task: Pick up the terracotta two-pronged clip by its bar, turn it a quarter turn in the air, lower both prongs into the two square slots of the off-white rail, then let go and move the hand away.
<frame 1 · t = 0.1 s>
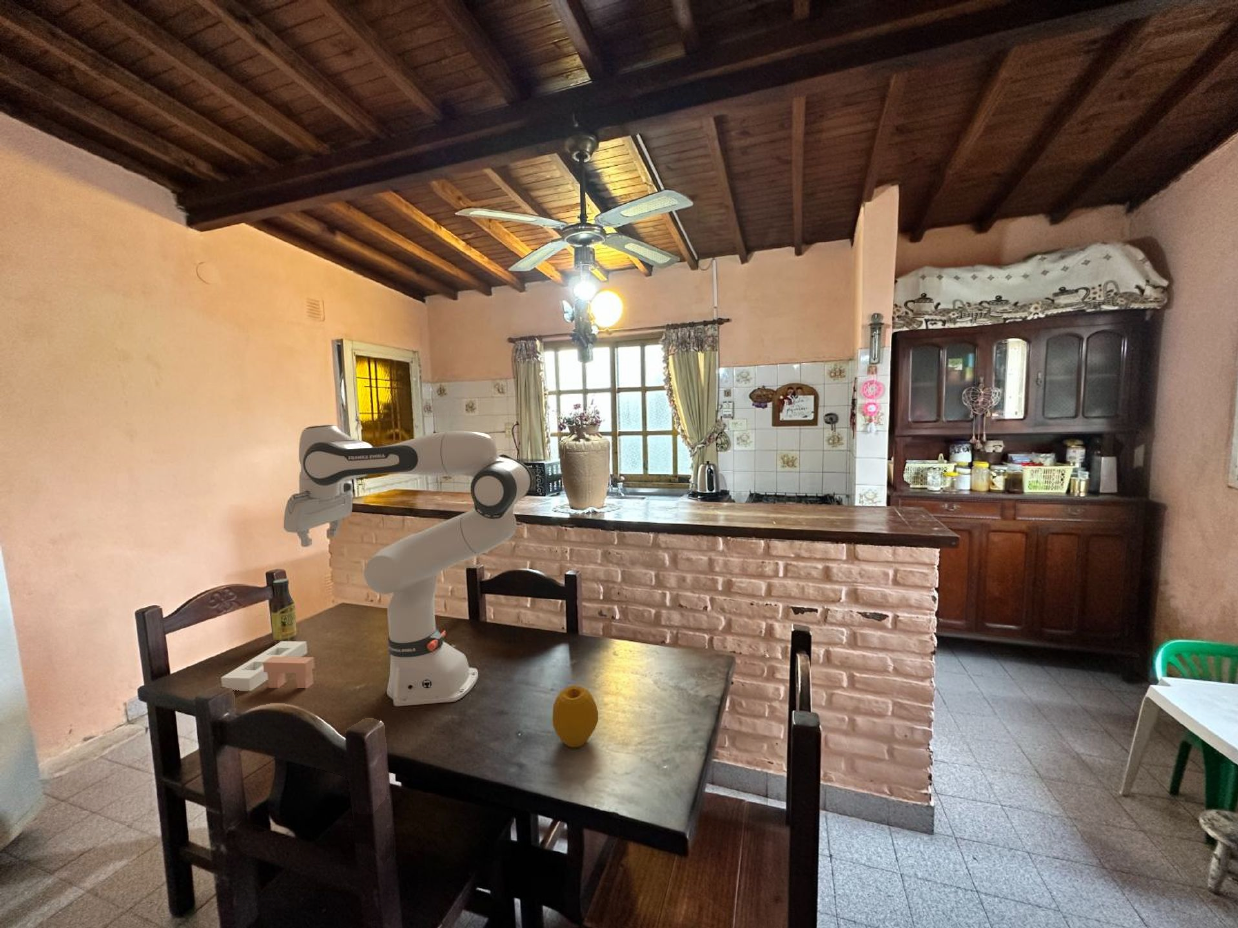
hand: (320, 540, 123), 39 cm above the table, tool pointing down, fingers open, 8 cm apart
prong clip: (291, 685, 127), on the table
slot rail: (268, 670, 135), on the table
sauce bottle: (286, 641, 153), on the table
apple: (576, 741, 102), on the table
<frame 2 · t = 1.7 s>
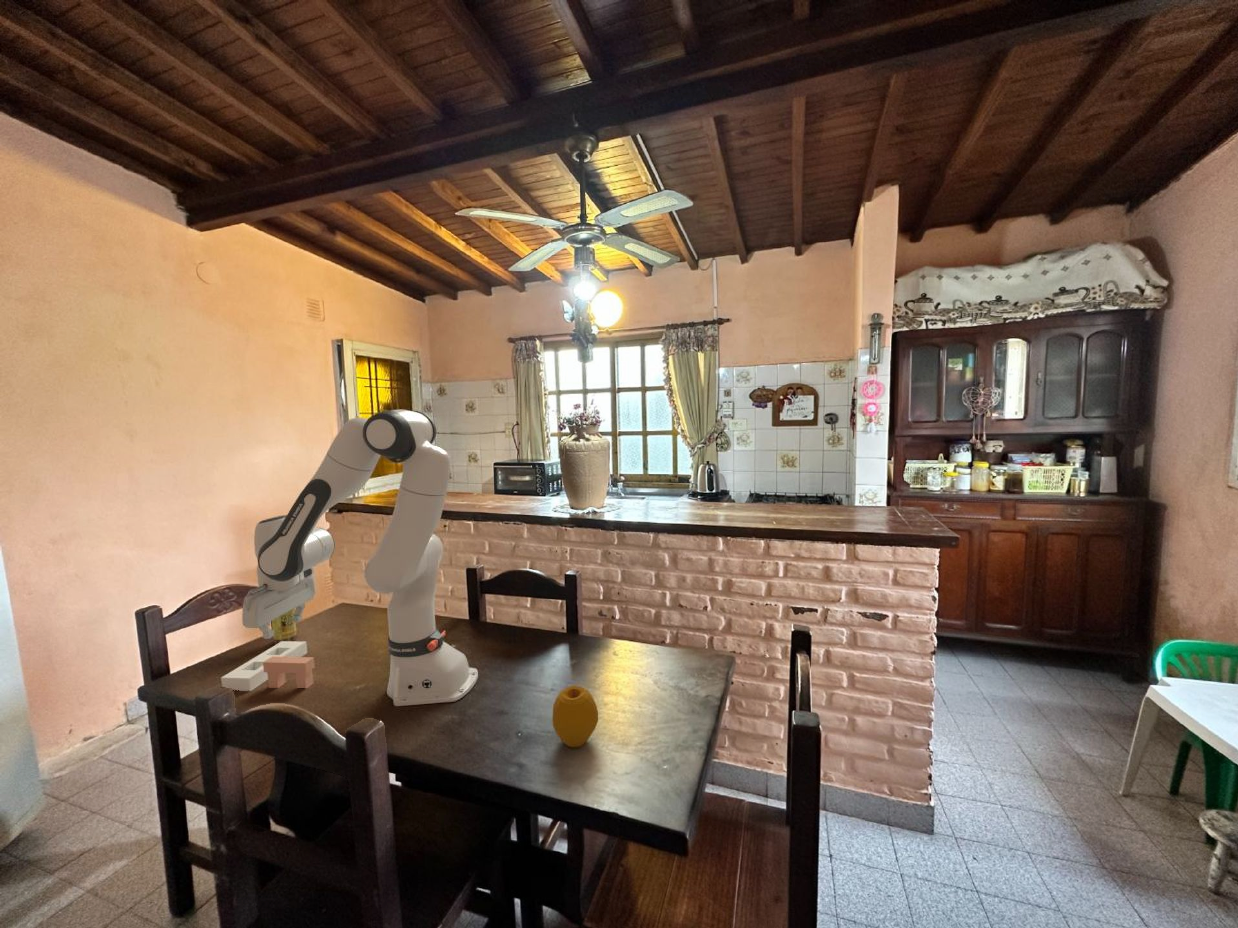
hand: (283, 629, 125), 16 cm above the table, tool pointing down, fingers open, 8 cm apart
nothing on the table moved.
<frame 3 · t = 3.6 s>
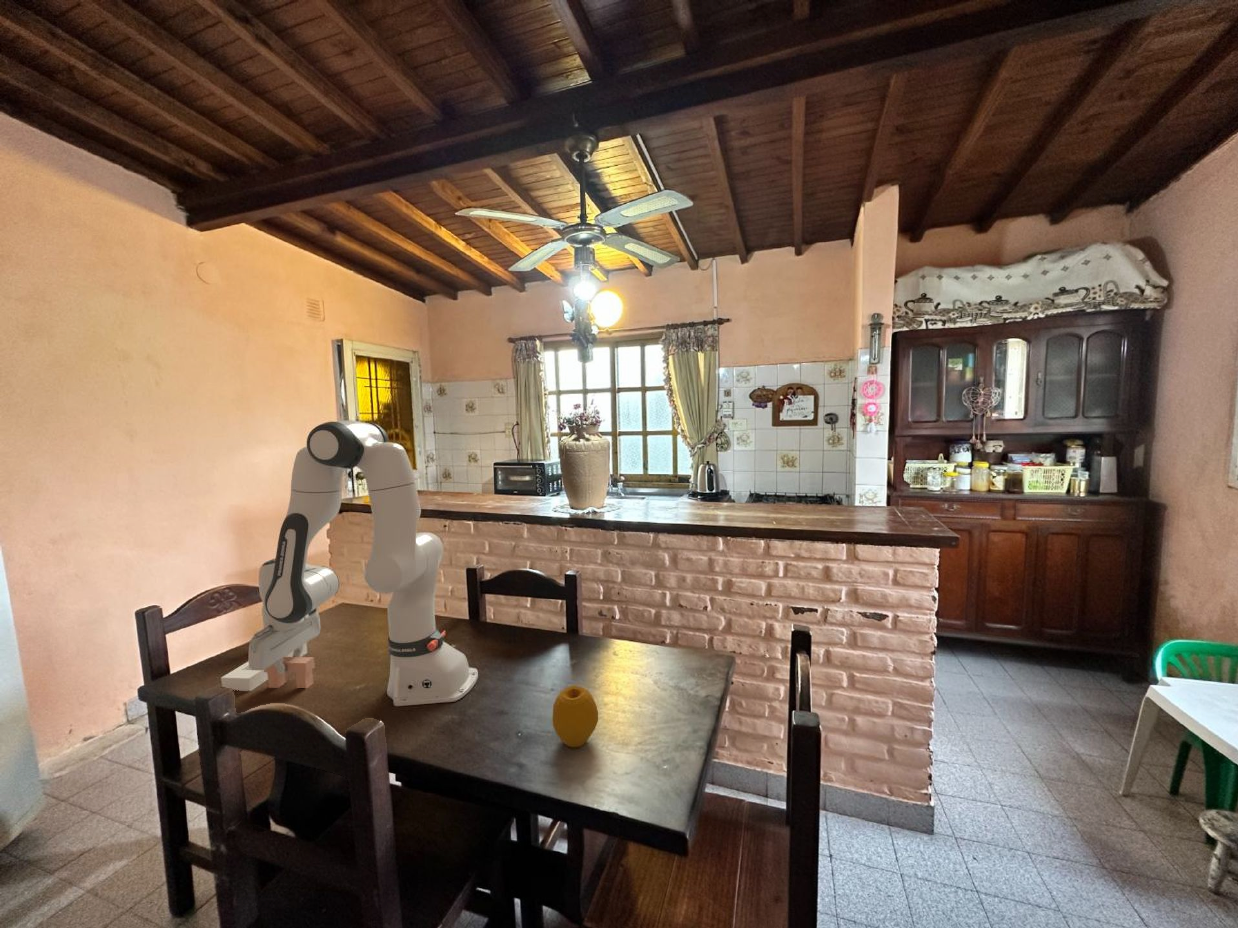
hand: (289, 667, 126), 5 cm above the table, tool pointing down, fingers closed on prong clip, 3 cm apart
prong clip: (291, 685, 127), on the table, touching gripper
everything else where it was.
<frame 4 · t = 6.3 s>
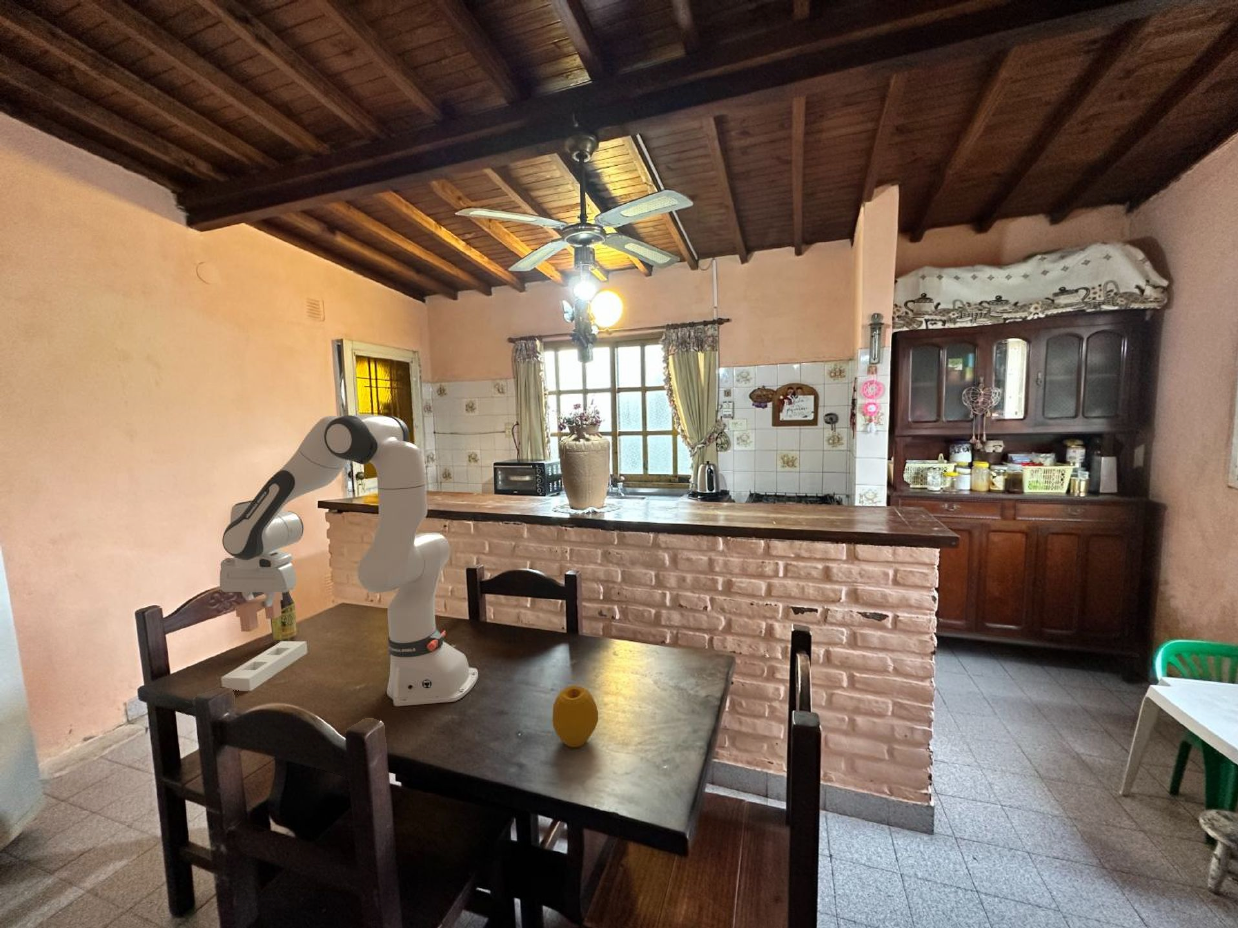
hand: (260, 606, 133), 19 cm above the table, tool pointing down, fingers closed on prong clip, 3 cm apart
prong clip: (262, 622, 133), point 14 cm above the table, touching gripper
everything else where it was.
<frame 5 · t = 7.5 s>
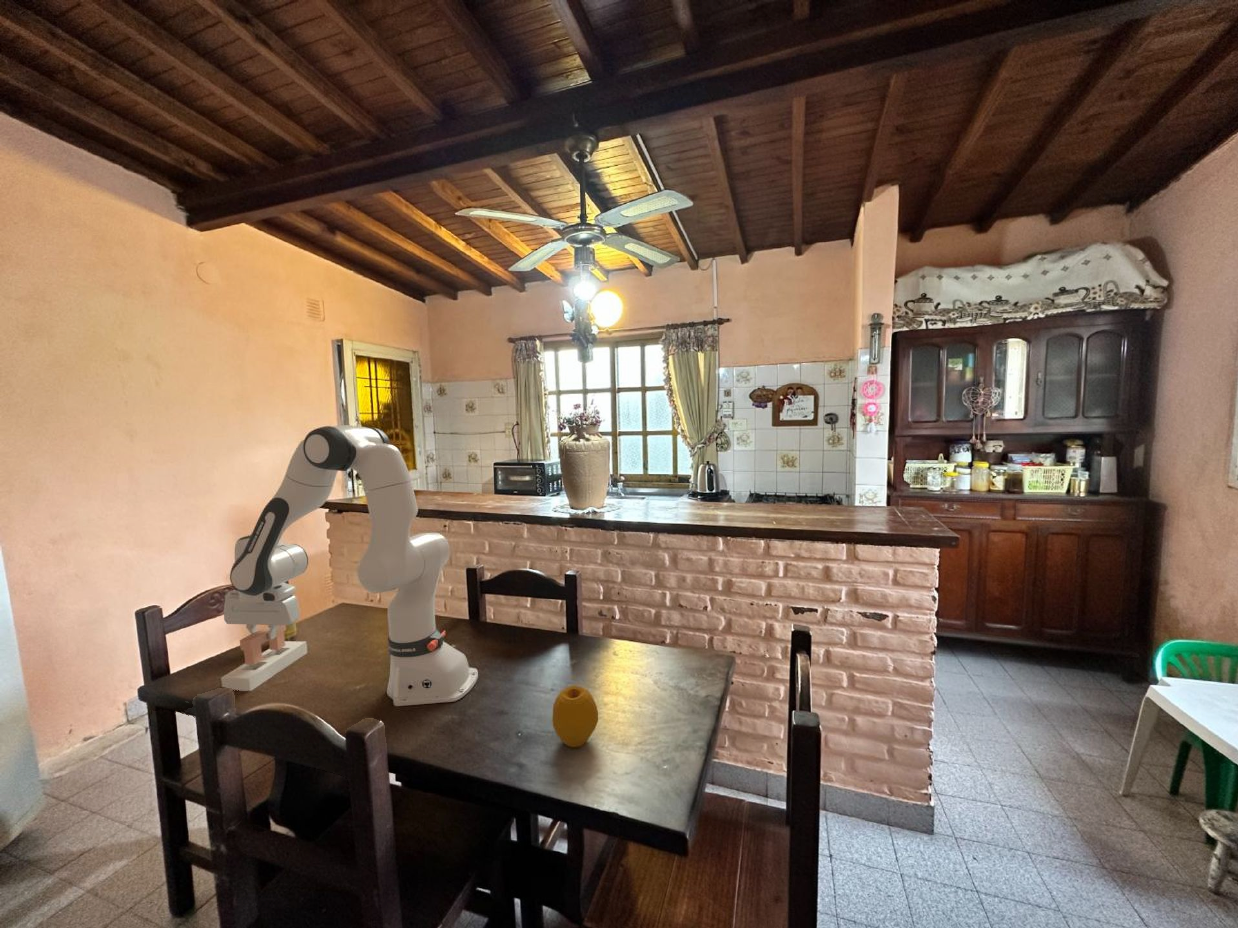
hand: (264, 638, 134), 9 cm above the table, tool pointing down, fingers closed on prong clip, 3 cm apart
prong clip: (266, 654, 135), point 5 cm above the table, touching gripper
everything else where it was.
when the fingers open (6 cm above the table, at t = 8.7 s): prong clip drops 1 cm, on the table.
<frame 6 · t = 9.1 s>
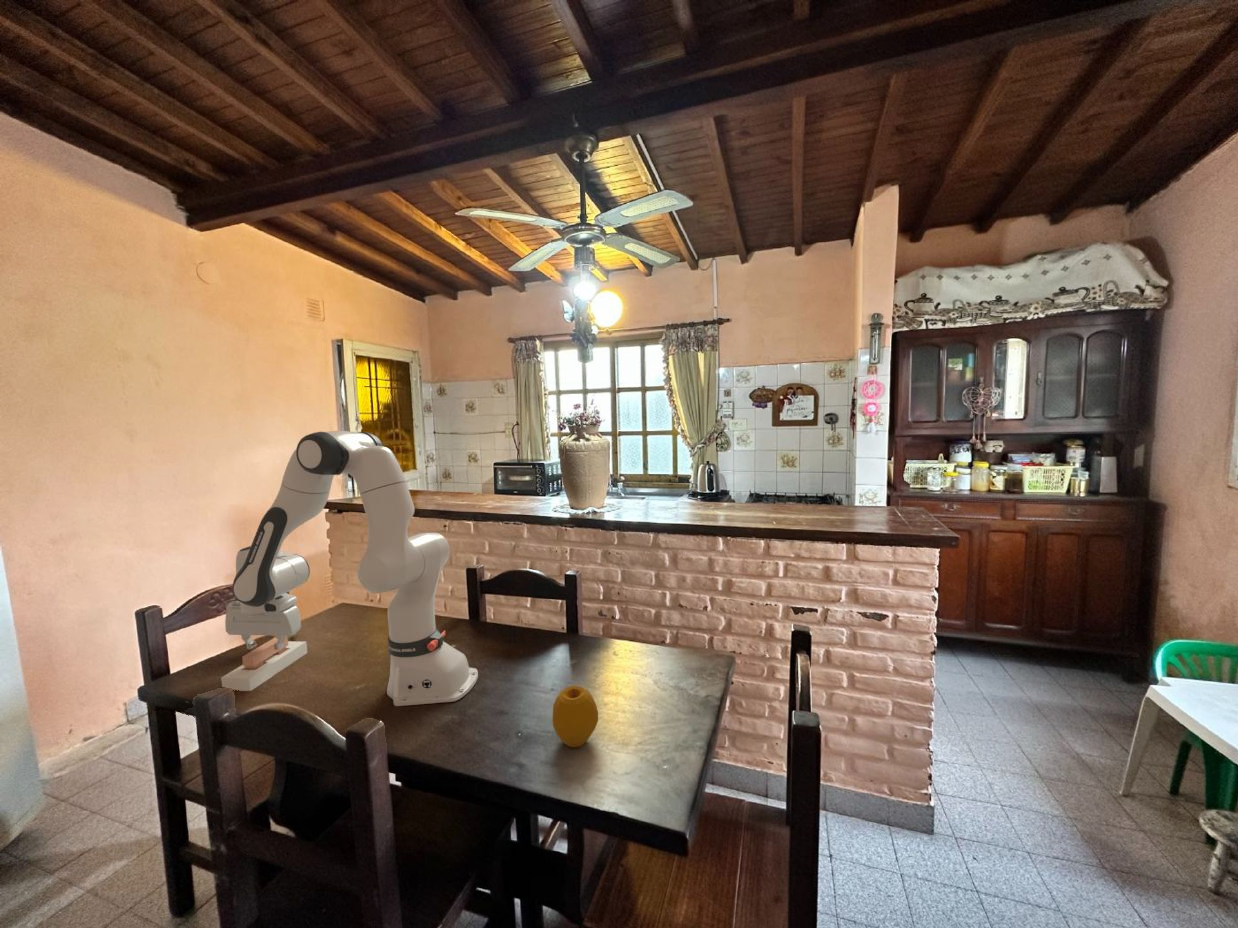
hand: (265, 648, 134), 6 cm above the table, tool pointing down, fingers open, 7 cm apart
prong clip: (268, 669, 135), on the table
everything else where it was.
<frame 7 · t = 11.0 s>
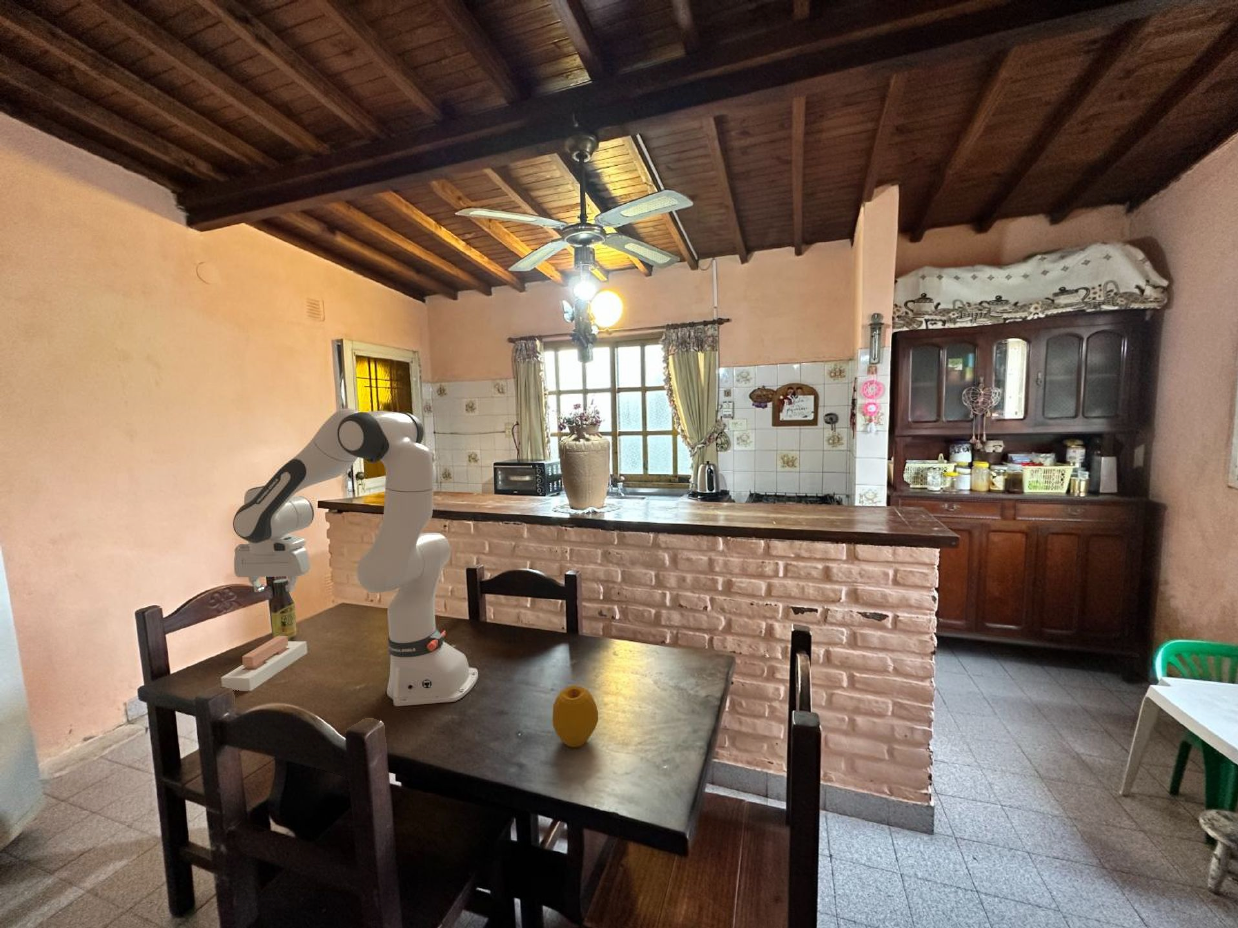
hand: (275, 590, 134), 22 cm above the table, tool pointing down, fingers open, 8 cm apart
nothing on the table moved.
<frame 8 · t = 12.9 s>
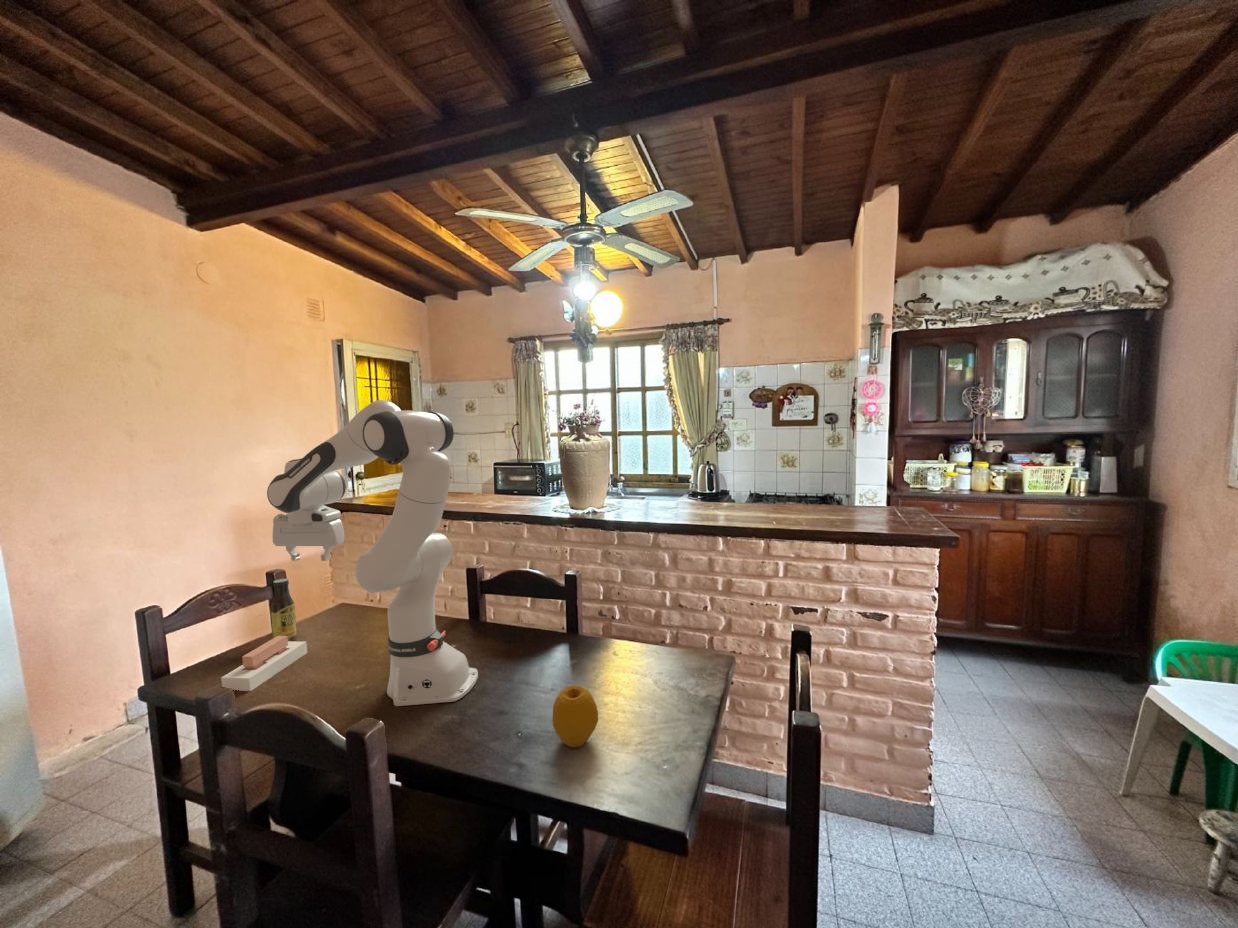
hand: (310, 560, 140), 29 cm above the table, tool pointing down, fingers open, 8 cm apart
nothing on the table moved.
at the end: prong clip 0.1 cm off-centre on the slot rail, point 0.0 cm above the slot rail's base; prong clip tilted 0°; the gripper is holding nothing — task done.
